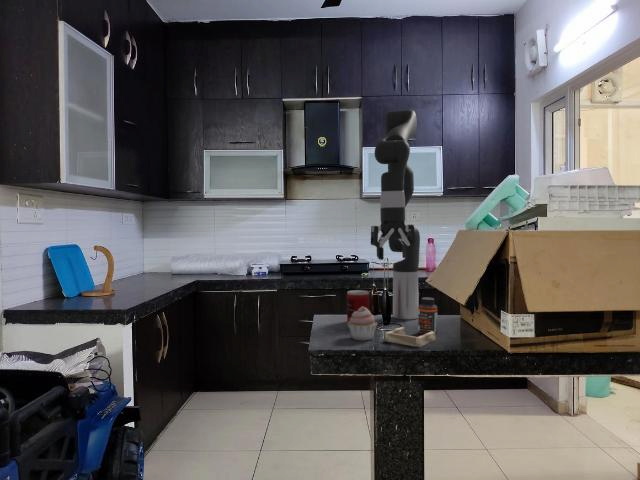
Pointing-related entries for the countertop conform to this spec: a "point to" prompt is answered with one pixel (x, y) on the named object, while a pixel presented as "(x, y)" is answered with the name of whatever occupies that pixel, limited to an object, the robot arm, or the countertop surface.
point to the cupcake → (362, 325)
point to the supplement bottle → (427, 316)
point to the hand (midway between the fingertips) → (393, 258)
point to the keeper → (408, 338)
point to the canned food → (356, 301)
